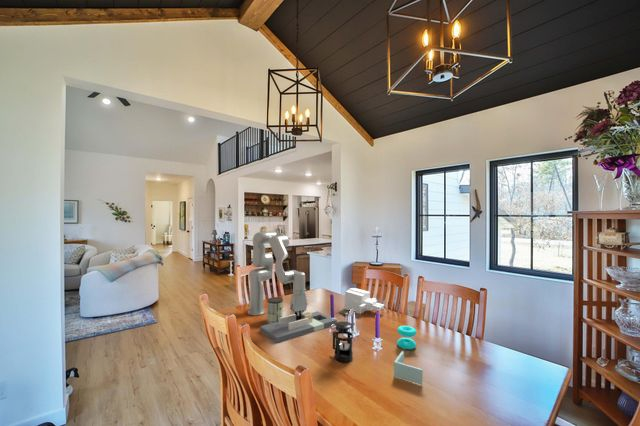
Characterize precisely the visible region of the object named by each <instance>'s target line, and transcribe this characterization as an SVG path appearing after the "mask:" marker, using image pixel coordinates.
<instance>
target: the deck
mask: <svg viewBox="0 0 640 426" xmlns="http://www.w3.org/2000/svg"><path fill="white" fill-rule="evenodd" d="M310 313H311V314H313V322H311V323H308V320H309V318H305V319H301V320H298V321H296V315H295V314H290V315H286V316H282V317H281V318H280V320H279V322H275V323H268V324H264V325H260V326H259V332H260V333H262V334H263V335H265V336H266V337H267V338H269V339H270V340H271V341H272V342H274V343H276V344H278V343H282V342H285V341H288V340H292V339H294V338H297V337H301V336H304V335H308V334H311V333H314V332H316V331H321V330H323V329H327V328H330V327H332V326H331V325H332V324H336V323H337V322H338V319H336V318H333V317H332V316H329V315H327V314H325V313H322V312H320V311H314V312H310ZM331 317H332V318H333V319H332V318H331Z"/></svg>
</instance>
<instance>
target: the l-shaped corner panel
mask: <svg viewBox="0 0 640 426" xmlns="http://www.w3.org/2000/svg"><path fill="white" fill-rule="evenodd" d="M396 357H397V358H396V359H395V360H394V361H393V378H394V377H397V378H401V379H404V380H407V381H411V382H415V383H418V384H421V385H422V386H423V374H424V373H423V368H419V367H417V366H416V367H415V366H413V365H410V364H406V363H405V352H404V350H401V351H400V353H399V355H398V356H396ZM397 378H396V379H397Z"/></svg>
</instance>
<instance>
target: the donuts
mask: <svg viewBox="0 0 640 426" xmlns="http://www.w3.org/2000/svg"><path fill="white" fill-rule="evenodd" d="M396 331H397V333H398V334H399V335H401V336H403V337H400V338H399V339H398V340H397V342H396V343H397V346H398V347H401V349H402V348H404V349H403V350H406V349H412V350H414V349H413V348H415V347H417V343H416V342H415V340H413V339H411V338H413V337H415V336H416V335H417V330H416V329H415V328H414V327H412V326H410V325H400V326H398V327H397V330H396ZM415 349H416V348H415Z"/></svg>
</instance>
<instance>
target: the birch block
mask: <svg viewBox="0 0 640 426" xmlns="http://www.w3.org/2000/svg"><path fill="white" fill-rule="evenodd" d="M311 313H312V312H308V311H304V312H303V313H302V315H301V319H305V318H309V320H308V323H311V322H313V314H311Z"/></svg>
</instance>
